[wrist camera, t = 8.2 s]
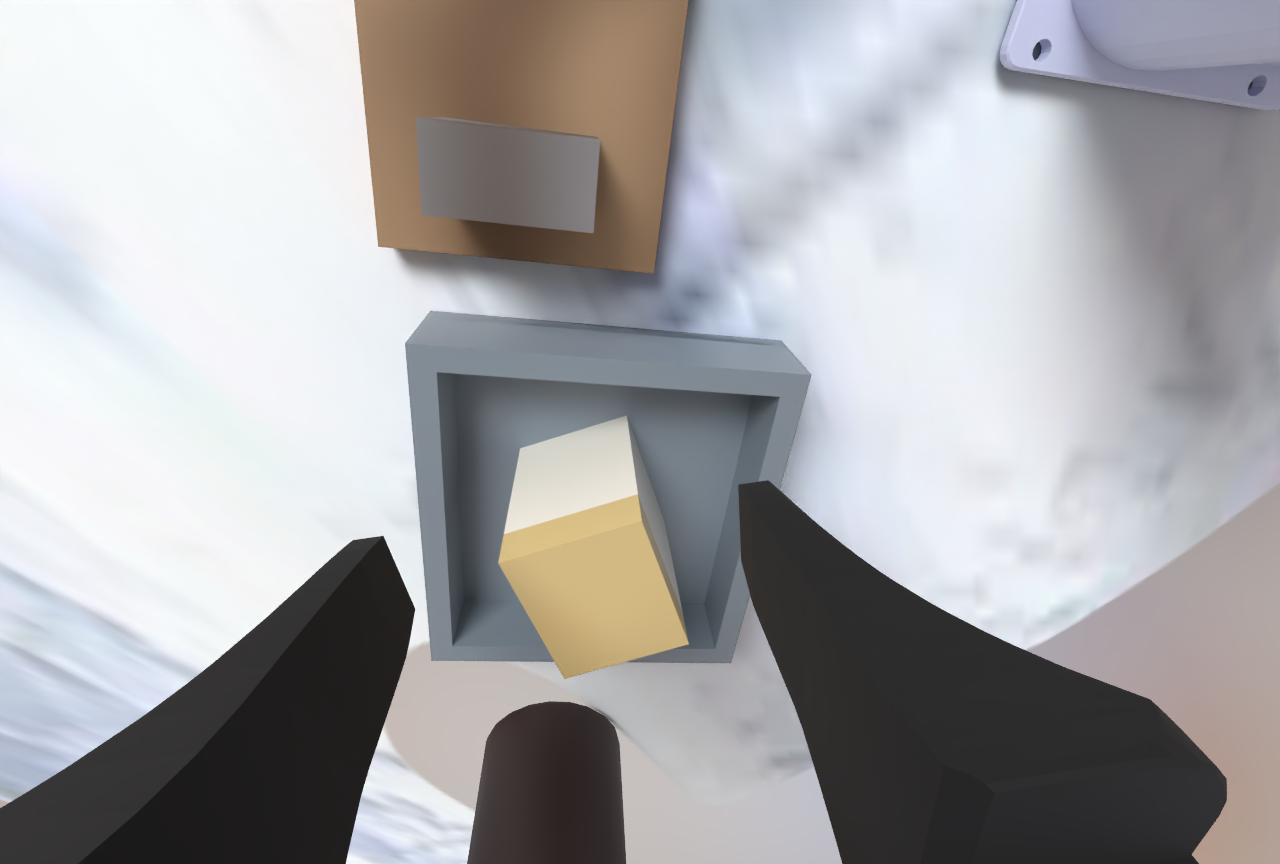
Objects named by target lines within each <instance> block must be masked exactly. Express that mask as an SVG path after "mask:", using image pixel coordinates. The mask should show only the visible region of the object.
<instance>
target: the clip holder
mask: <svg viewBox="0 0 1280 864" xmlns="http://www.w3.org/2000/svg"><path fill="white" fill-rule="evenodd" d="M354 2H355V13H356V23H357V33H358V43H359V53H360V64H361V74H362V84H363V94H364V104H365V115H366V125H367V135H368V145H369V155H370V166H371V176H372V186H373V196H374V206H375V217H376V227H377V237H378V247H387V248H398V249H408V250H418V251H428V252H438V253H449V254H459V255H469V256H479V257H489V258H500V259H510V260H520V261H530V262H540V263H551V264H561V265H571V266H581V267H591V268H602V269H612V270H622V271H632V272H642V273H652V274H654V268H655V260H656V252H657V244H658V236H659V229H660V221H661V213H662V205H663V197H664V189H665V181H666V173H667V165H668V158H669V150H670V142H671V134H672V126H673V118H674V110H675V102H676V94H677V87H678V79H679V71H680V63H681V55H682V47H683V39H684V31H685V23H686V16H687V8H688V0H354Z"/></svg>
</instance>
